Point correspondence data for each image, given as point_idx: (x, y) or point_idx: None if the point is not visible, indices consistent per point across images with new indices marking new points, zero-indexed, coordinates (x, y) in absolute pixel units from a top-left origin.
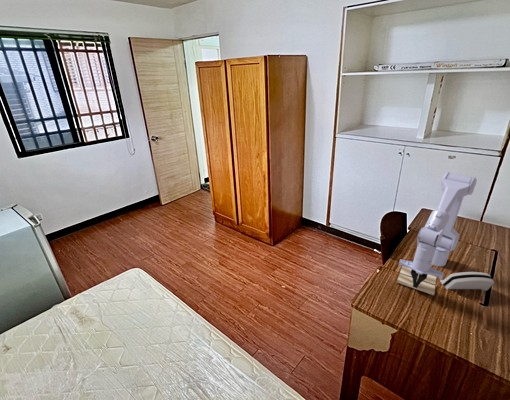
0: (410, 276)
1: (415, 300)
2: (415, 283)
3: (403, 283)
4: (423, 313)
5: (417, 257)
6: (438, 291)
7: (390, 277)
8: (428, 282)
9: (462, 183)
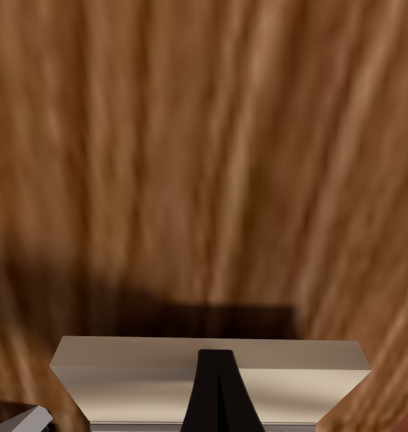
0: None
1: (189, 230)
2: (228, 402)
3: (308, 351)
4: (103, 95)
5: None
6: None
7: None
8: (132, 428)
9: None
